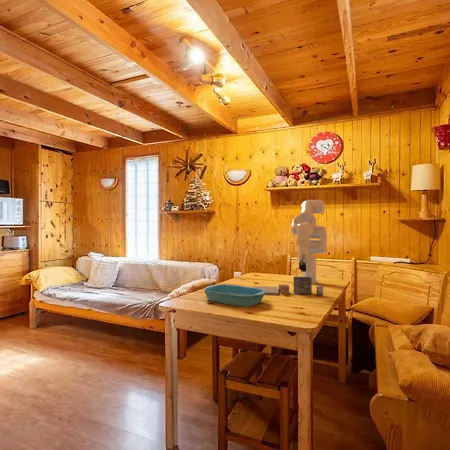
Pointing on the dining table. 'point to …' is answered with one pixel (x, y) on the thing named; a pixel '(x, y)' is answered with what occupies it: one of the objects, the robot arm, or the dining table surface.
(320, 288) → the metal cylinder
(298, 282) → the small box
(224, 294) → the casserole dish
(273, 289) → the tile board
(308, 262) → the robot arm
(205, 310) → the dining table surface
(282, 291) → the walnut block
